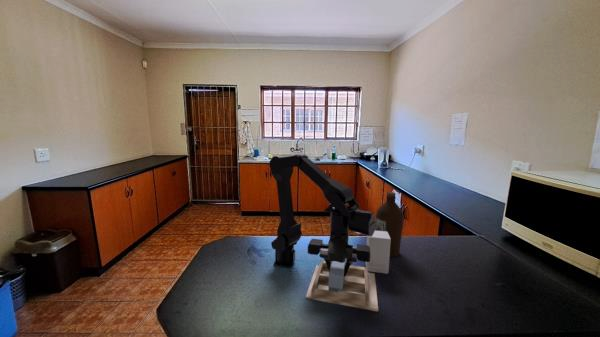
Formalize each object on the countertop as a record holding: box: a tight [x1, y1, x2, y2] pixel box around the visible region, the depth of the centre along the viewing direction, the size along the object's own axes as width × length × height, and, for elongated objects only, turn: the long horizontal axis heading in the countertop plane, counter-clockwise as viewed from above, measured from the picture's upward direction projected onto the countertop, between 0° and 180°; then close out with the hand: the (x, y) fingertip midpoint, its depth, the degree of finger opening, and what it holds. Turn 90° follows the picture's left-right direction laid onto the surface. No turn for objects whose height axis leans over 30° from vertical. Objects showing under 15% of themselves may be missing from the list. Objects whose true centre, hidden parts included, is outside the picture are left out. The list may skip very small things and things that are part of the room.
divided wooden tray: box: [305, 260, 379, 312], centre depth 76 cm, size 20×18×3 cm
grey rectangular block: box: [328, 259, 346, 292], centre depth 76 cm, size 4×13×6 cm, turn 166°
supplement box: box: [365, 230, 391, 275], centre depth 86 cm, size 7×7×13 cm
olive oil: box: [375, 191, 405, 258], centre depth 98 cm, size 11×11×25 cm
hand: (337, 275), depth 76 cm, fingers closed on grey rectangular block, 4 cm apart
